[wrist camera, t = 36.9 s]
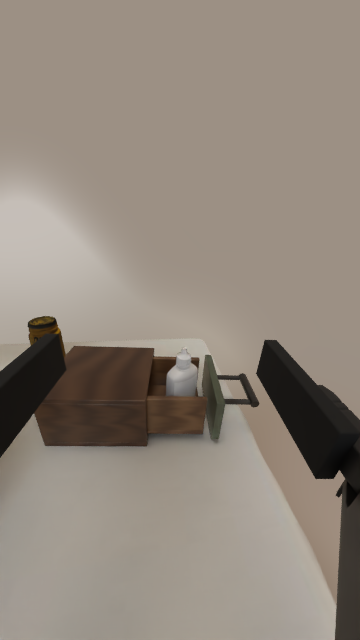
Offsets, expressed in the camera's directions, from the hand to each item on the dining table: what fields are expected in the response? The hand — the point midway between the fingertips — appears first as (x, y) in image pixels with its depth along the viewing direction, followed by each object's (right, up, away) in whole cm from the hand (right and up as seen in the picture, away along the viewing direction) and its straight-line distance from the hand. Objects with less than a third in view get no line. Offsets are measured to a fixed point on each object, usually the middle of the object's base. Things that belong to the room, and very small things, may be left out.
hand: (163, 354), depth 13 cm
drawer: (+3, -14, +25) cm, 29 cm away
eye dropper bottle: (+1, -13, +24) cm, 28 cm away
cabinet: (-12, -15, +25) cm, 31 cm away
